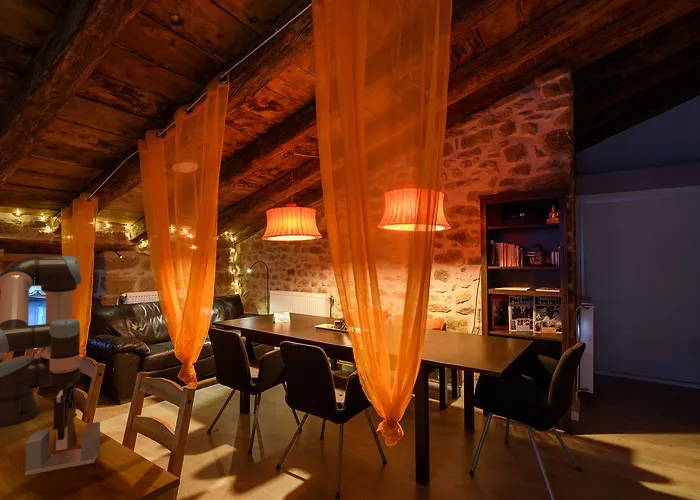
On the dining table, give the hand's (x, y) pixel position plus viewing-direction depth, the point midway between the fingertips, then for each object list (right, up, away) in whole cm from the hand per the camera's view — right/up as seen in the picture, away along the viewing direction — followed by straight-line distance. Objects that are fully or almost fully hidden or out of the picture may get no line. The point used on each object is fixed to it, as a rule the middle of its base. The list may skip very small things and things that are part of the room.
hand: (65, 443), depth 119 cm
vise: (0, -5, 0) cm, 5 cm away
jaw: (-6, -4, -3) cm, 8 cm away
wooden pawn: (0, -1, 0) cm, 1 cm away
